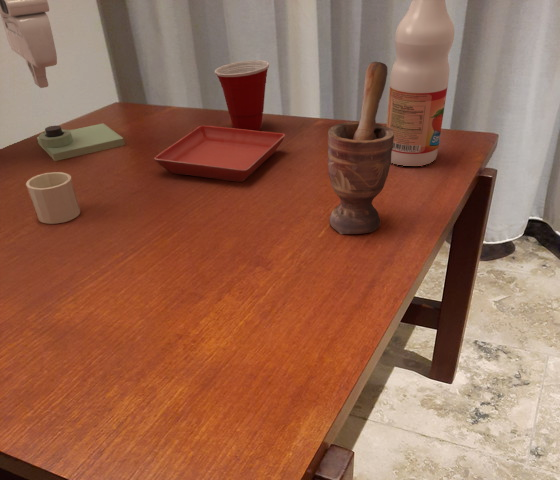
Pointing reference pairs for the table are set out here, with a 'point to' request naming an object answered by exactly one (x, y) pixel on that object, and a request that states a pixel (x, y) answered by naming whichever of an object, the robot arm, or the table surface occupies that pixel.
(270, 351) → the table surface
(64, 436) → the table surface
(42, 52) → the robot arm
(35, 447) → the table surface
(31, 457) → the table surface
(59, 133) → the button
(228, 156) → the plant saucer
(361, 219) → the mortar and pestle
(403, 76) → the fruit juice
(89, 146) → the scale
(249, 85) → the plastic cup
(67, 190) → the ramekin
